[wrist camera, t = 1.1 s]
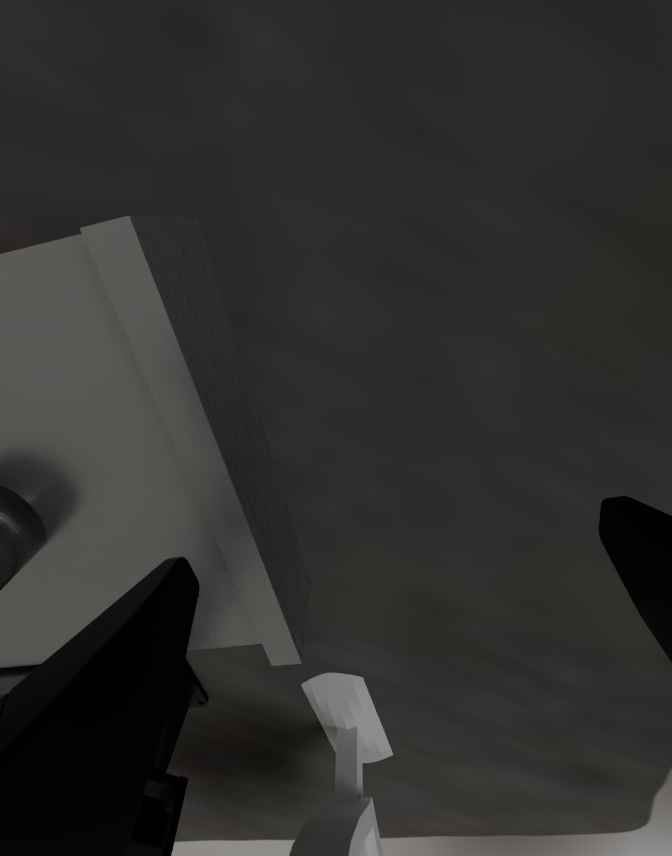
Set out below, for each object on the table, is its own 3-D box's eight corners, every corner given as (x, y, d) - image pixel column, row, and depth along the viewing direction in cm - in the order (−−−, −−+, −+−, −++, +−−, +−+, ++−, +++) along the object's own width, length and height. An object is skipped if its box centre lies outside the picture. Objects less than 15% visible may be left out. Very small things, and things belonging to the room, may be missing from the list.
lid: (312, 581, 19) (298, 690, 15) (-12, 617, 21) (-109, 720, 17) (195, 218, 12) (102, 214, 8) (-260, 330, 15) (-531, 376, 10)
